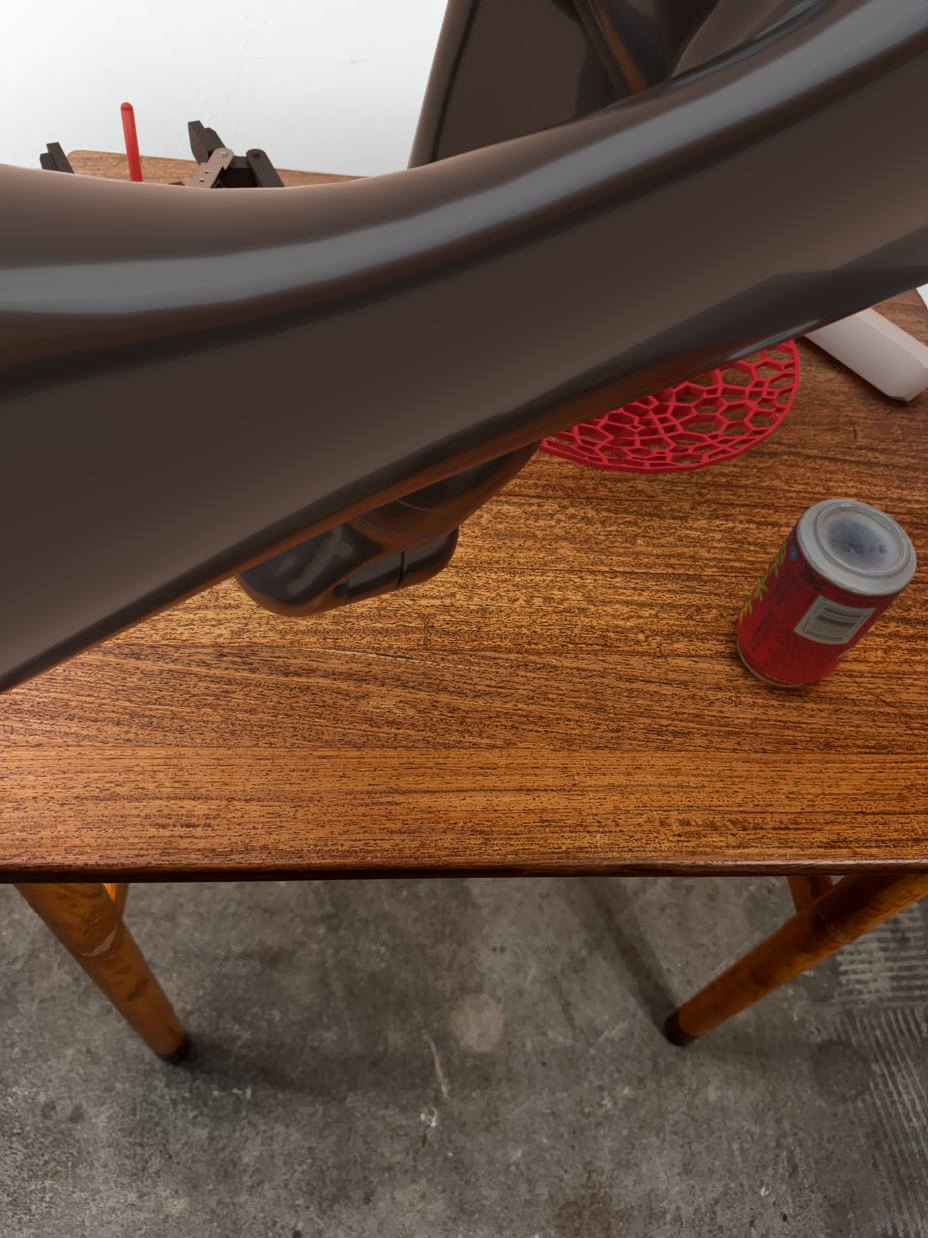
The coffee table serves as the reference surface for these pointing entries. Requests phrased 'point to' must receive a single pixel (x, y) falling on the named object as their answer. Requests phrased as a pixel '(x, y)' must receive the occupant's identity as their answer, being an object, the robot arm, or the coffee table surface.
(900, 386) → the tube
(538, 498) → the coffee table surface
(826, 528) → the soda can
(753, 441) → the bowl
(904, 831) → the coffee table surface
